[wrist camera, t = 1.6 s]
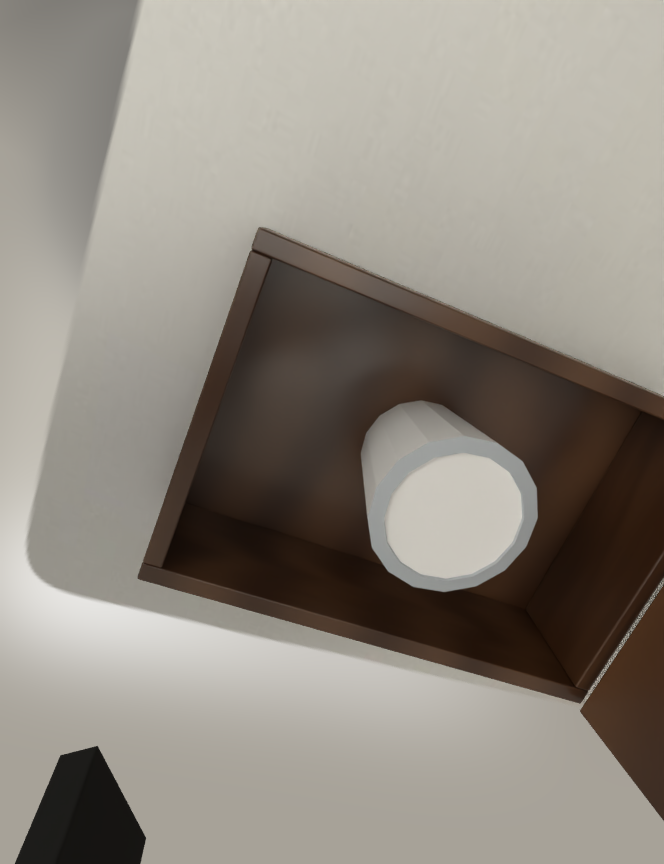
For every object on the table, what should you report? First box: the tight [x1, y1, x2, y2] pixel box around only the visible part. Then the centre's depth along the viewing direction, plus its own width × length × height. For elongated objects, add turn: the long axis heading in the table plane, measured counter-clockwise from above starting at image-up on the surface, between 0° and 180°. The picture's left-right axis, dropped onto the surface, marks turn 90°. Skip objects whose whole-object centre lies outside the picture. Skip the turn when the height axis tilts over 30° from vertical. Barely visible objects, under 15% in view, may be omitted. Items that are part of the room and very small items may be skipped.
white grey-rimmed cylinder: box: [361, 400, 538, 592], centre depth 26 cm, size 7×7×7 cm
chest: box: [138, 227, 664, 703], centre depth 27 cm, size 22×15×7 cm
